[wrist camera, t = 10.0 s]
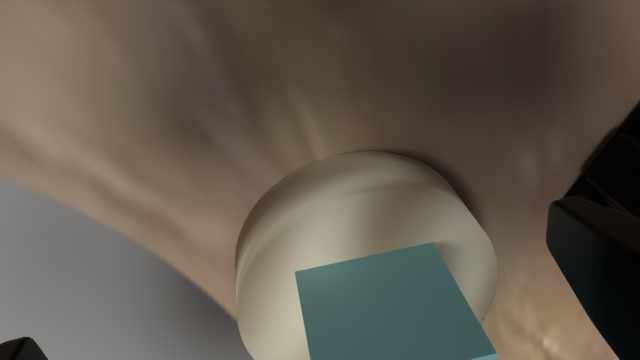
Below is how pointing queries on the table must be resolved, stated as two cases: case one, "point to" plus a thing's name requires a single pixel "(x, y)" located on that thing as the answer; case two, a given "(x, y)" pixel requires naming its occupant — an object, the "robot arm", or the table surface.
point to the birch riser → (349, 239)
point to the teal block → (389, 309)
